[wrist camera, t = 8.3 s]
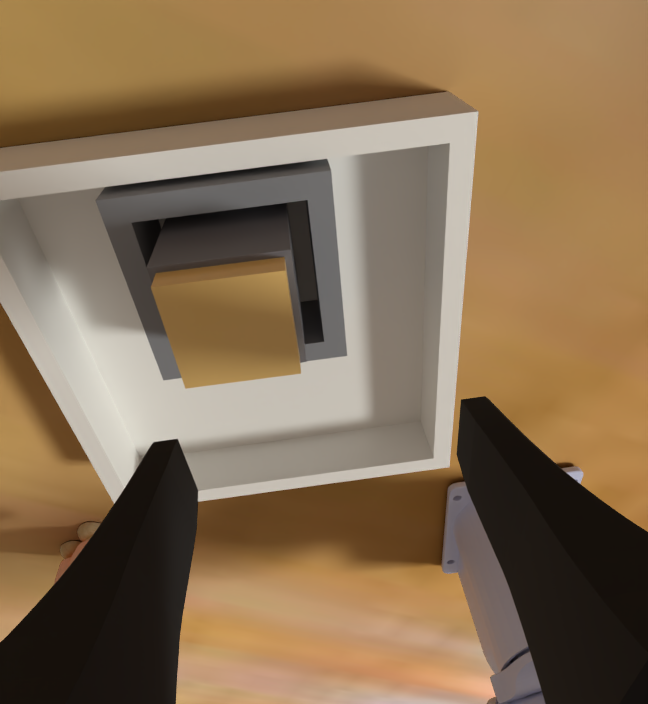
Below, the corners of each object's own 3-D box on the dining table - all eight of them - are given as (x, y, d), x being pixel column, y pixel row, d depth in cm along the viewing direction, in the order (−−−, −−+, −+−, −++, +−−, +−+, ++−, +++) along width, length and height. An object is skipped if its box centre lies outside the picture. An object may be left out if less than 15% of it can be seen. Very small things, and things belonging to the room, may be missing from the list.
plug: (298, 283, 21) (308, 377, 16) (199, 295, 21) (180, 394, 16) (284, 185, 18) (291, 262, 14) (173, 199, 18) (141, 281, 13)
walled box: (433, 423, 27) (452, 475, 24) (132, 464, 27) (116, 521, 24) (448, 91, 17) (484, 115, 15) (-23, 150, 17) (-78, 186, 14)
